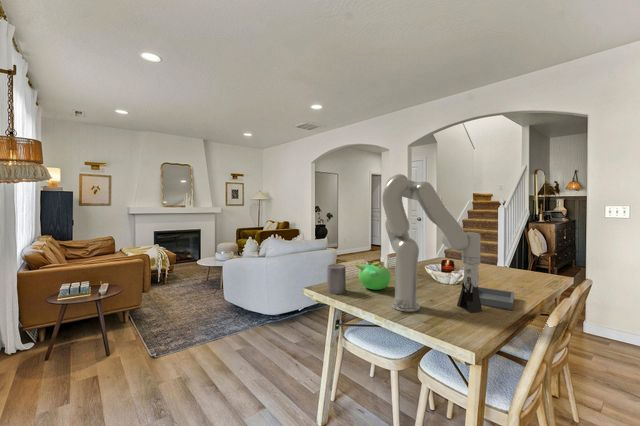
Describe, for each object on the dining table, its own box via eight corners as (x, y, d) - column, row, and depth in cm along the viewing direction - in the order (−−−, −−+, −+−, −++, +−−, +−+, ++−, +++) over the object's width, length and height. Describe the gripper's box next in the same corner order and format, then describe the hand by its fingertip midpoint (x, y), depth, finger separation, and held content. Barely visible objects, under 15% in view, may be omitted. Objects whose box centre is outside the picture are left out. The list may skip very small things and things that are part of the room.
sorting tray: (512, 310, 133) (512, 303, 133) (467, 302, 144) (467, 295, 143) (514, 299, 150) (514, 292, 150) (473, 292, 160) (474, 286, 160)
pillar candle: (336, 287, 167) (336, 260, 167) (349, 291, 160) (349, 263, 159) (323, 291, 161) (323, 263, 160) (336, 295, 154) (336, 266, 153)
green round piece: (396, 290, 164) (397, 263, 163) (375, 296, 153) (376, 267, 153) (371, 283, 178) (371, 258, 177) (350, 287, 167) (351, 261, 167)
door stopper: (482, 311, 132) (483, 284, 132) (470, 312, 131) (471, 285, 130) (467, 304, 141) (468, 279, 140) (456, 305, 139) (457, 280, 139)
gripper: (477, 264, 126) (477, 305, 126) (482, 257, 140) (482, 294, 141) (457, 262, 130) (457, 302, 131) (465, 256, 144) (464, 292, 145)
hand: (470, 298), depth 136 cm, fingers open, 9 cm apart
